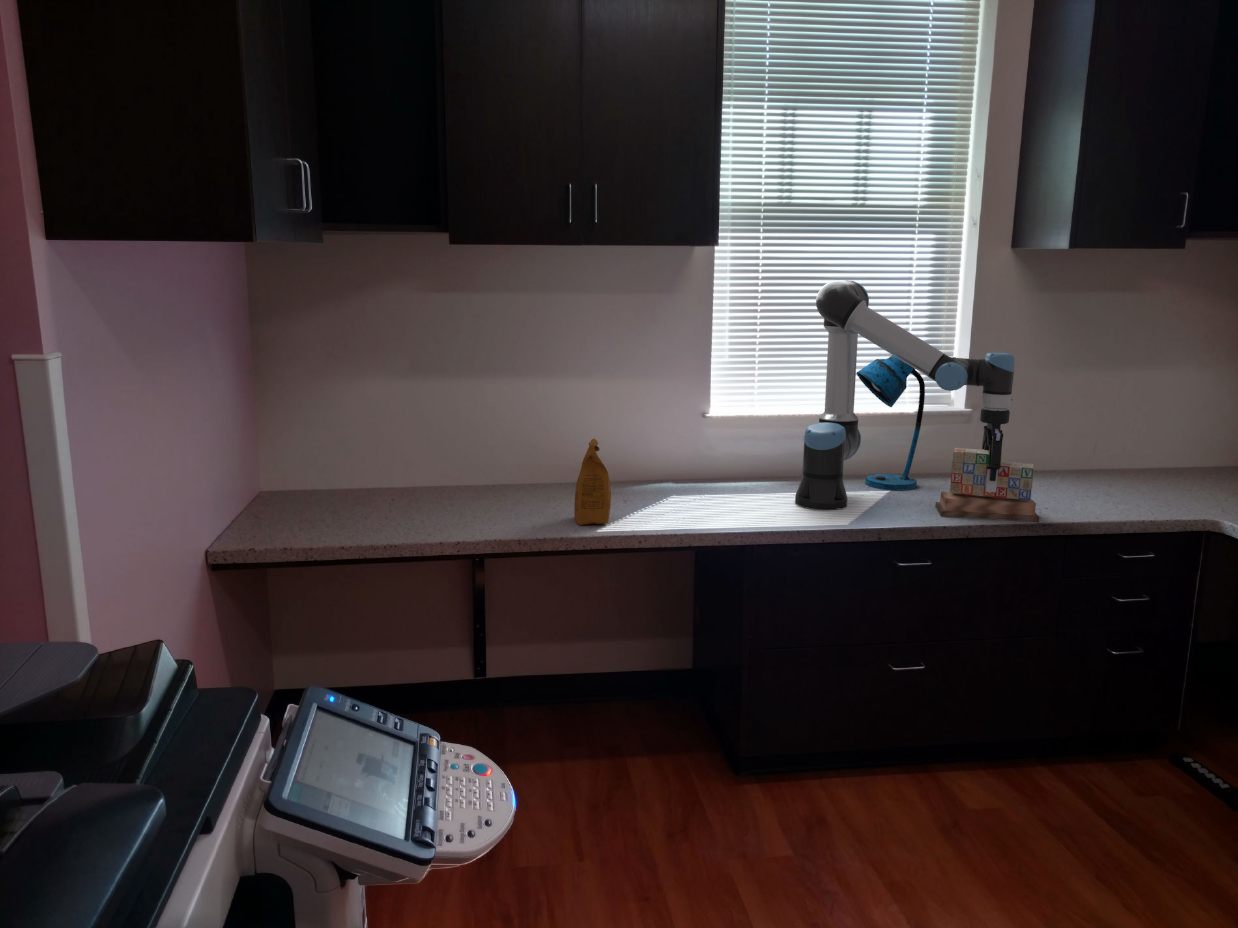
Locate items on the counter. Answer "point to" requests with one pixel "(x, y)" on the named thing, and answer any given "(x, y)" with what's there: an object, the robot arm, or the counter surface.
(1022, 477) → the stack of blocks
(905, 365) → the desk lamp
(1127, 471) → the counter surface
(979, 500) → the base brick
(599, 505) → the coffee package
